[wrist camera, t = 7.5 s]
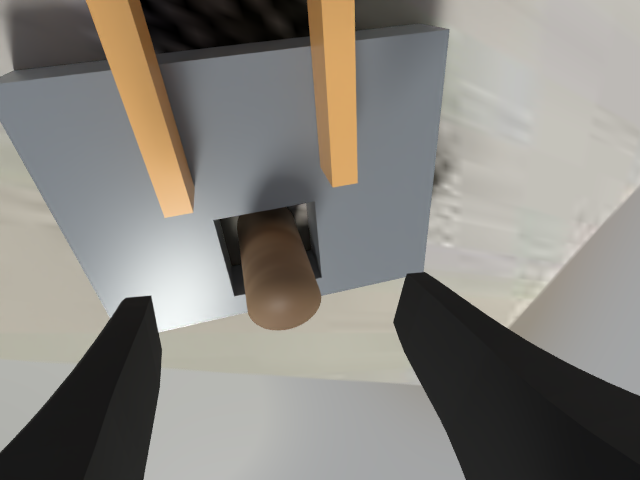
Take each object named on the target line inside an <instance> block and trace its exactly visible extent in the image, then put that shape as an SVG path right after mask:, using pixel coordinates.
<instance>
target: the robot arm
mask: <svg viewBox="0 0 640 480" xmlns="http://www.w3.org/2000/svg"><path fill="white" fill-rule="evenodd" d="M393 323H394V326H395V328H396V331H397V334H398V337H399V340H400V342H401V345H402V347H403V350H404V352H405V354H406V356H407V358H408V360H409V362H410V364H411V366H412V368H413V370H414V371H415V373H416V375H417V377H418V379H419V381H420V383H421V385H422V386H423V388H424V390H425V392H426V393H427V396H428V398H429V399H430V401H431V403H432V405H433V407H434V409H435V411H436V412H437V414H438V416H439V418H440V420H441V422H442V424H443V426H444V428H445V430H446V432H447V435H448V437H449V439H450V442H451V444H452V447H453V449H454V451H455V453H456V456H457V458H458V461H459V463H460V465H461V468H462V471H463V473H464V476H465V478H466V480H640V396H638V395H636V394H633V393H631V392H629V391H626V390H624V389H622V388H620V387H617V386H615V385H612V384H610V383H608V382H606V381H604V380H602V379H599V378H597V377H595V376H593V375H591V374H589V373H587V372H585V371H583V370H581V369H578V368H576V367H575V366H573V365H570V364H569V363H567V362H565V361H563V360H561V359H559V358H557V357H555V356H554V355H552V354H550V353H548V352H546V351H544V350H542V349H540V348H539V347H537V346H535V345H534V344H532V343H530V342H529V341H527V340H525V339H523V338H522V337H520V336H519V335H517V334H515V333H514V332H512V331H511V330H509V329H508V328H506V327H504V326H503V325H501V324H500V323H498V322H497V321H495V320H494V319H492V318H491V317H489V316H488V315H486V314H485V313H483V312H482V311H480V310H479V309H478V308H476V307H475V306H473V305H472V304H470V303H469V302H468V301H466V300H465V299H463V298H462V297H460V296H459V295H458V294H456V293H455V292H453V291H452V290H451V289H449V288H448V287H446V286H445V285H444V284H442V283H441V282H439V281H438V280H436V279H435V278H433V277H432V276H430V275H429V274H427V273H425V272H419V273H408V274H406V278H405V281H404V285H403V289H402V292H401V296H400V300H399V303H398V307H397V311H396V314H395V318H394V322H393ZM161 357H162V348H161V343H160V338H159V333H158V327H157V322H156V317H155V312H154V307H153V302H152V297H151V296H139V297H128V298H125V299H124V300H122V301H121V303H120V304H119V306H118V308H117V309H116V311H115V312H114V314H113V315H112V317H111V318H110V320H109V321H108V323H107V324H106V326H105V327H104V329H103V330H102V331H101V333H100V334H99V336H98V337H97V339H96V340H95V341H94V343H93V344H92V345H91V347H90V348H89V349H88V351H87V352H86V354H85V355H84V356H83V358H82V359H81V360H80V362H79V363H78V364H77V366H76V367H75V368H74V370H73V371H72V372H71V373H70V375H69V376H68V377H67V378H66V379H65V381H64V382H63V383H62V384H61V385H60V387H59V388H58V389H57V390H56V391H55V393H54V394H53V395H52V396H51V397H50V399H49V400H48V401H47V402H46V403H45V405H44V406H43V407H42V408H41V409H40V410H39V411H38V413H37V414H36V415H35V416H34V417H33V418H32V419H31V421H30V422H29V423H28V424H27V425H26V426H25V427H24V428H23V429H22V430H21V431H20V432H19V434H18V435H17V436H16V437H15V438H14V439H13V440H12V441H11V442H10V443H9V444H8V445H7V446H6V447H5V448H4V449H3V450H2V451H1V452H0V480H143V479H144V472H145V466H146V462H147V456H148V450H149V445H150V439H151V434H152V428H153V423H154V416H155V411H156V406H157V400H158V394H159V388H160V375H161Z"/></svg>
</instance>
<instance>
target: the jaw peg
mask: <svg viewBox="0 0 640 480" xmlns="http://www.w3.org/2000/svg"><path fill="white" fill-rule="evenodd" d="M237 231H238V239H239V247H240V255H241V263H242V271H243V279H244V287H245V295H246V303H247V310H248V314H249V316H250V318H251V319H252V321H253V322H254V323H256V324H257V325H259V326H260V327H263V328H266V329H270V330H287V329H291V328H294V327H297V326H299V325H301V324H303V323H305V322H306V321H308V320H309V319H310V318H311V317H312V316H313V315H314V314H315V313H316V311H317V310H318V308H319V306H320V303H321V292H320V289H319V286H318V284H317V281H316V278H315V276H314V273H313V270H312V267H311V265H310V262H309V259H308V256H307V254H306V251H305V248H304V245H303V243H302V240H301V237H300V235H299V232H298V229H297V226H296V224H295V221H294V218H293V216H292V214H291V212H290V211H289V209H288V208H286V207H282V208H277V209H271V210H266V211H260V212H255V213H250V214H244V215H240V217H239V220H238V223H237Z"/></svg>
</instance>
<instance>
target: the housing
mask: <svg viewBox="0 0 640 480" xmlns="http://www.w3.org/2000/svg"><path fill="white" fill-rule="evenodd" d="M448 38H449V29H445V28H440V27H435V26H430V25H425V24H421V23H419V24H410V25H402V26H393V27H384V28H376V29H367V30H359V31H355V60H356V115H357V170H358V183H356V184H350V185H344V186H339V187H332V186H331V184H330V182H329V181H328V179H327V177H326V176H325V174H324V172H323V171H322V169H321V167H320V158H319V145H318V133H317V120H316V107H315V95H314V82H313V69H312V56H311V44H310V36H307V37H299V38H290V39H281V40H273V41H264V42H256V43H247V44H238V45H230V46H221V47H213V48H204V49H196V50H187V51H178V52H170V53H161V54H156V58H157V61H158V65H159V68H160V71H161V75H162V78H163V82H164V85H165V89H166V92H167V95H168V99H169V102H170V106H171V109H172V112H173V116H174V119H175V123H176V126H177V129H178V133H179V136H180V140H181V143H182V146H183V150H184V153H185V157H186V160H187V164H188V167H189V170H190V174H191V177H192V181H193V184H194V187H195V193H194V210H193V213H189V214H184V215H178V216H173V217H167V218H164V215H163V212H162V209H161V206H160V204H159V201H158V198H157V195H156V193H155V190H154V187H153V184H152V182H151V179H150V176H149V173H148V171H147V168H146V165H145V162H144V160H143V157H142V154H141V151H140V149H139V146H138V143H137V140H136V137H135V135H134V132H133V129H132V126H131V124H130V121H129V118H128V115H127V113H126V110H125V107H124V104H123V102H122V99H121V96H120V93H119V91H118V88H117V85H116V82H115V79H114V77H113V74H112V71H111V68H110V66H109V63H108V60H101V61H93V62H84V63H75V64H67V65H58V66H50V67H41V68H33V69H24V70H15V71H12V72H9V73H7V74H5V75H3V76H1V77H0V122H1V123H2V125H3V127H4V129H5V131H6V132H7V134H8V136H9V138H10V139H11V141H12V143H13V145H14V147H15V148H16V150H17V152H18V154H19V156H20V157H21V159H22V161H23V163H24V165H25V166H26V168H27V170H28V172H29V174H30V175H31V177H32V179H33V181H34V182H35V184H36V186H37V188H38V190H39V191H40V193H41V195H42V197H43V199H44V200H45V202H46V204H47V206H48V208H49V209H50V211H51V213H52V215H53V217H54V218H55V220H56V222H57V224H58V225H59V227H60V229H61V231H62V233H63V234H64V236H65V238H66V240H67V242H68V243H69V245H70V247H71V249H72V251H73V252H74V254H75V256H76V258H77V260H78V261H79V263H80V265H81V267H82V268H83V270H84V272H85V274H86V276H87V277H88V279H89V281H90V283H91V285H92V286H93V288H94V290H95V292H96V294H97V295H98V297H99V299H100V301H101V303H102V304H103V306H104V308H105V310H106V311H107V313H108V315H109V317H110V318H111V317H112V315H113V314H114V312H115V311H116V309H117V308H118V306H119V304H120V303H121V301H122V300H124V299H125V298H128V297H139V296H151V297H152V302H153V307H154V312H155V317H156V322H157V327H158V332H162V331H167V330H171V329H176V328H180V327H184V326H189V325H193V324H198V323H202V322H207V321H211V320H216V319H220V318H225V317H229V316H234V315H238V314H242V313H247V312H248V310H247V303H246V295H245V287H244V279H243V271H242V264H241V265H236V266H232V265H231V262H230V258H229V254H228V250H227V246H226V243H225V239H224V235H223V231H222V228H221V224H220V220H219V219H223V218H228V217H233V216H239V215H244V214H250V213H255V212H260V211H266V210H271V209H277V208H282V207H287V206H293V205H298V204H304V203H306V206H307V215H308V224H309V234H310V243H311V250H309V251H306V254H307V256H308V259H309V262H310V265H311V267H312V270H313V273H314V276H315V278H316V281H317V284H318V286H319V289H320V292H321V296H323V295H327V294H332V293H336V292H341V291H345V290H349V289H354V288H358V287H363V286H367V285H372V284H376V283H381V282H385V281H390V280H394V279H399V278H403V277H406V274H408V273H419V272H423V271H424V261H425V252H426V243H427V234H428V224H429V215H430V206H431V196H432V187H433V178H434V169H435V159H436V150H437V141H438V131H439V122H440V113H441V104H442V94H443V85H444V76H445V66H446V57H447V48H448Z"/></svg>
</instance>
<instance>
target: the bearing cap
mask: <svg viewBox="0 0 640 480" xmlns="http://www.w3.org/2000/svg"><path fill="white" fill-rule="evenodd" d="M86 2H87V5H88V8H89V10H90V13H91V16H92V19H93V21H94V24H95V27H96V30H97V33H98V35H99V38H100V41H101V44H102V46H103V49H104V52H105V55H106V57H107V60H108V63H109V66H110V68H111V71H112V74H113V77H114V79H115V82H116V85H117V88H118V91H119V93H120V96H121V99H122V102H123V104H124V107H125V110H126V113H127V115H128V118H129V121H130V124H131V126H132V129H133V132H134V135H135V137H136V140H137V143H138V146H139V149H140V151H141V154H142V157H143V160H144V162H145V165H146V168H147V171H148V173H149V176H150V179H151V182H152V184H153V187H154V190H155V193H156V195H157V198H158V201H159V204H160V206H161V209H162V212H163V215H164V218H167V217H173V216H178V215H184V214H189V213H193V210H194V193H195V187H194V184H193V181H192V177H191V174H190V170H189V167H188V164H187V160H186V157H185V153H184V150H183V146H182V143H181V140H180V136H179V133H178V129H177V126H176V123H175V119H174V116H173V112H172V109H171V106H170V102H169V99H168V95H167V92H166V89H165V85H164V82H163V78H162V75H161V71H160V68H159V65H158V61H157V58H156V54H155V51H154V48H153V44H152V41H151V37H150V34H149V31H148V27H147V24H146V20H145V17H144V13H143V10H142V7H141V3H140V0H86ZM307 6H308V18H309V31H310V44H311V56H312V69H313V82H314V95H315V107H316V120H317V133H318V145H319V158H320V167H321V169H322V171H323V172H324V174H325V176H326V177H327V179H328V181H329V182H330V184H331V186H332V187H339V186H344V185H350V184H356V183H358V170H357V115H356V60H355V5H354V0H307Z"/></svg>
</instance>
